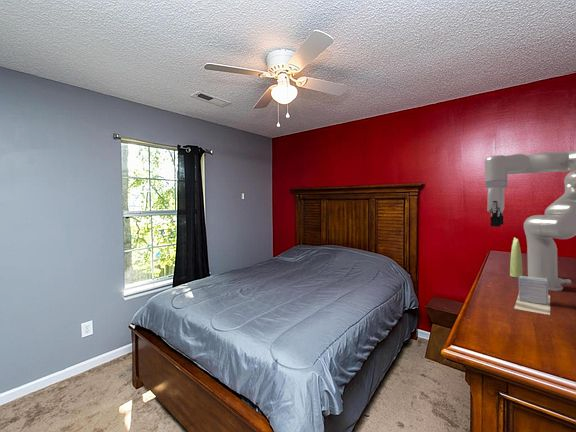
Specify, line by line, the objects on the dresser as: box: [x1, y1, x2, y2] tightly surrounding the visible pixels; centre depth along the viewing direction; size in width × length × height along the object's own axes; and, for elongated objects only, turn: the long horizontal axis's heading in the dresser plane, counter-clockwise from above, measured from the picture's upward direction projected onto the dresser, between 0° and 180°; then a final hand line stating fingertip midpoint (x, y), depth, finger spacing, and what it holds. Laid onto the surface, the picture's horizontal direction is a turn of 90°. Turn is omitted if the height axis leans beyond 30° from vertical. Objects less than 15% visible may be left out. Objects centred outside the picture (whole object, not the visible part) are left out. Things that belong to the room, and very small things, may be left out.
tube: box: [509, 237, 524, 279], centre depth 137 cm, size 6×5×20 cm
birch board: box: [513, 293, 551, 316], centre depth 100 cm, size 24×9×2 cm, turn 136°
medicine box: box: [518, 275, 549, 305], centre depth 100 cm, size 8×4×9 cm, turn 46°
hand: (497, 225), depth 116 cm, fingers open, 9 cm apart
